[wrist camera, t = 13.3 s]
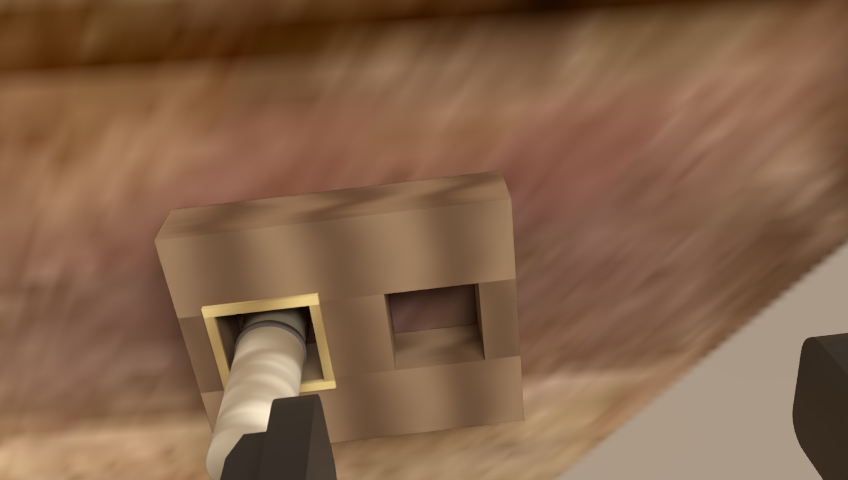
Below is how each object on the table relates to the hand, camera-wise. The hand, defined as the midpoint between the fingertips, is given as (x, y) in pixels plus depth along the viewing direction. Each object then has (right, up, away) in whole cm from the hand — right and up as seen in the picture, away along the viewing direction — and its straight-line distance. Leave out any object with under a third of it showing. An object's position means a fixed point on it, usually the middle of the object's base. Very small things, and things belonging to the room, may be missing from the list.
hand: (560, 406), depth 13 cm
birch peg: (-12, -2, +38) cm, 39 cm away
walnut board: (-7, -1, +38) cm, 38 cm away
